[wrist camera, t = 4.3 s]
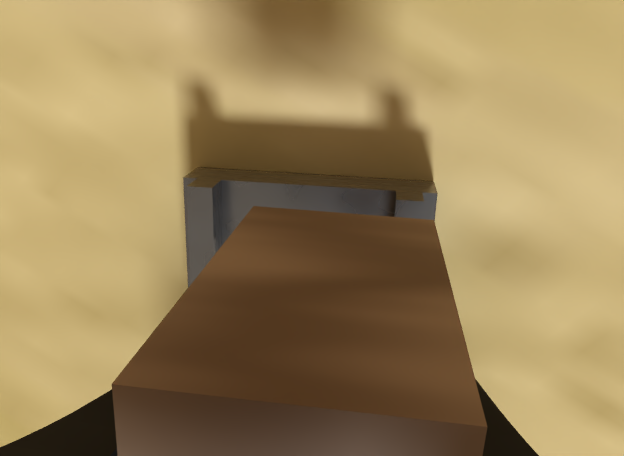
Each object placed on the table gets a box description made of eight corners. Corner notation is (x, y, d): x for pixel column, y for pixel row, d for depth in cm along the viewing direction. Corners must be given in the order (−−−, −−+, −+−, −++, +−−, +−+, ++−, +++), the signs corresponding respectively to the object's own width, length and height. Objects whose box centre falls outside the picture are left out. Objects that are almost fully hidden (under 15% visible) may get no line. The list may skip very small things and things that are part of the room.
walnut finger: (433, 219, 12) (486, 426, 6) (408, 433, 14) (428, 777, 8) (253, 205, 13) (111, 384, 6) (251, 415, 15) (139, 726, 8)
